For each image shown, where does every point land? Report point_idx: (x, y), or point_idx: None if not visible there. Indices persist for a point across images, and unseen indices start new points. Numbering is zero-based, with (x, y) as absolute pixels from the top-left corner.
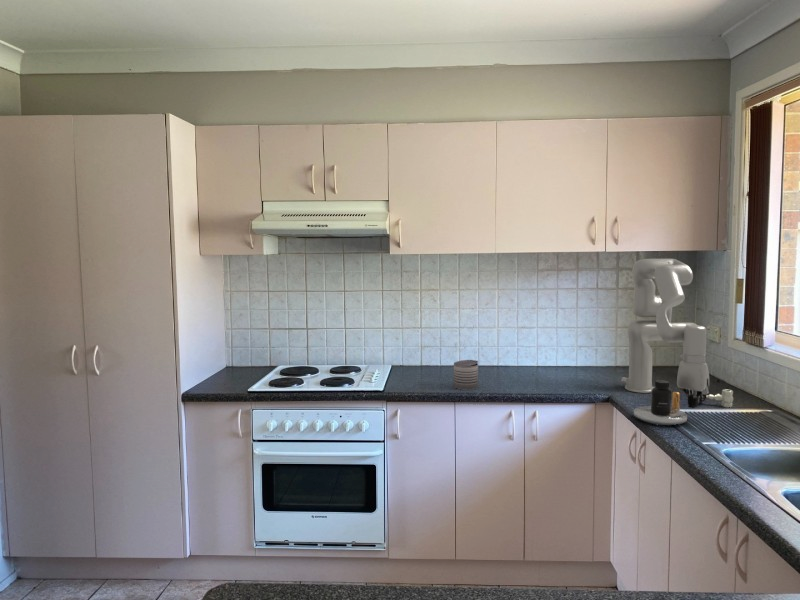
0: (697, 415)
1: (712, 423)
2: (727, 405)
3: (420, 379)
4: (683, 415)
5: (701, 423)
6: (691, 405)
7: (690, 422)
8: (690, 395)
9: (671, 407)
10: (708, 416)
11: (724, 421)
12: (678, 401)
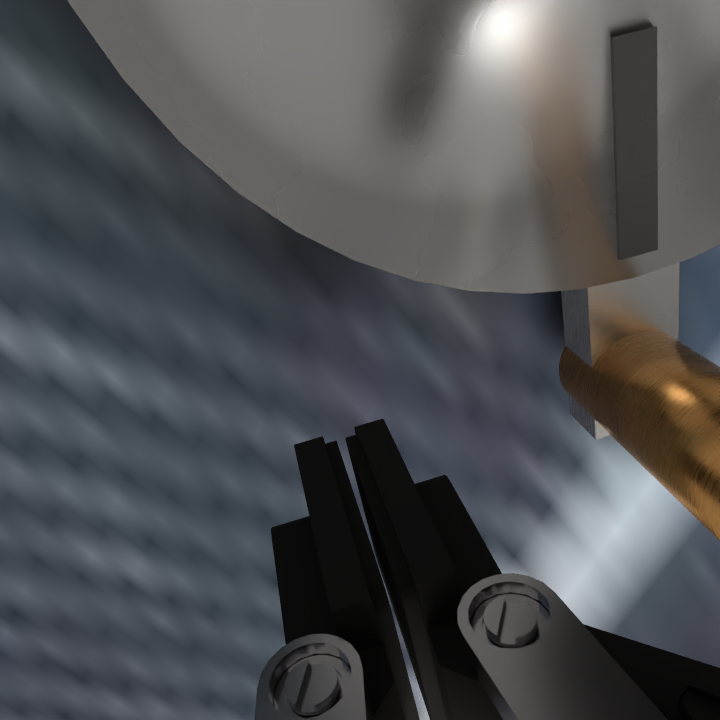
0: None
1: (6, 467)
2: None
3: None
4: (209, 59)
5: (62, 321)
6: (325, 461)
7: (174, 199)
8: (455, 655)
9: (677, 318)
10: None
11: (36, 656)
12: (659, 450)
